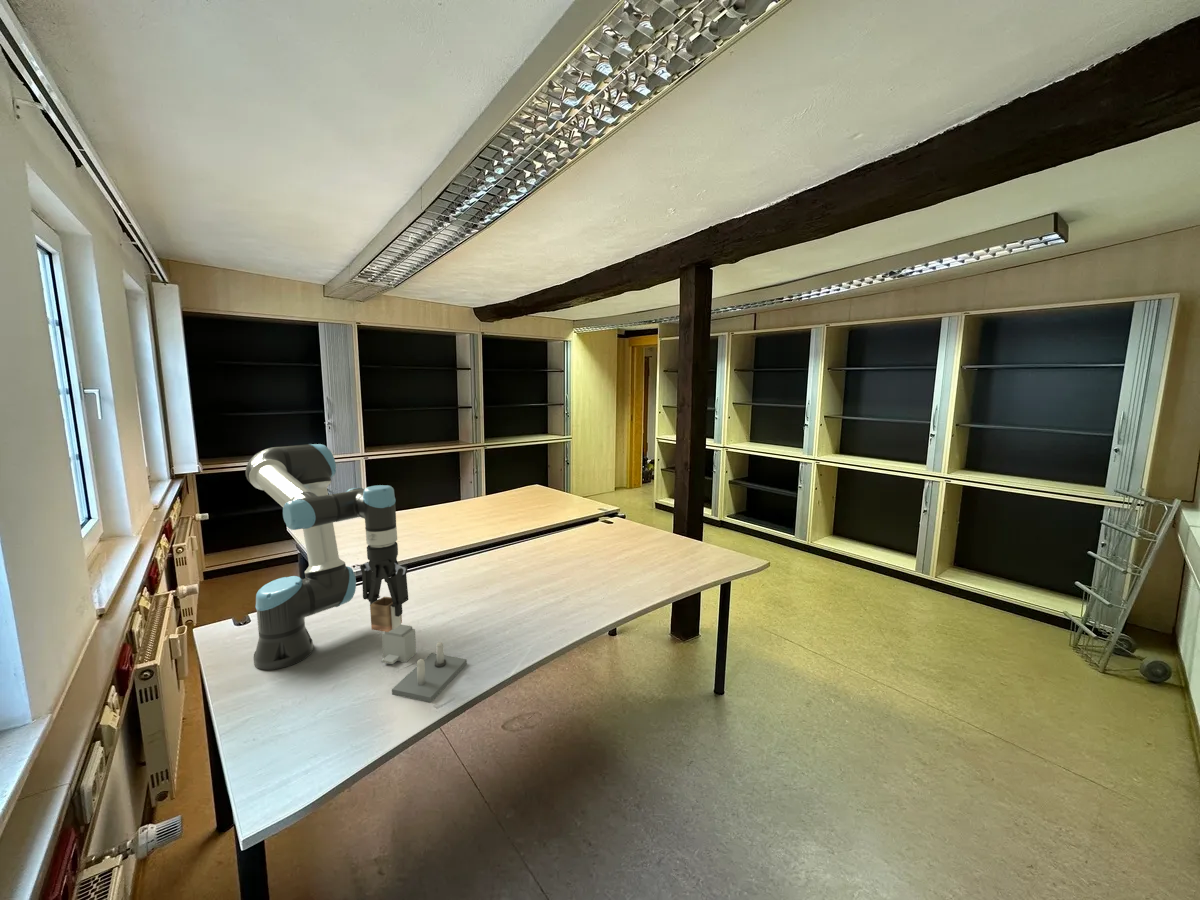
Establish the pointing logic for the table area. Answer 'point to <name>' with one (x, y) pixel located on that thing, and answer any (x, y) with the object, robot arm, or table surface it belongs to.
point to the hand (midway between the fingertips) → (387, 624)
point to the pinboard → (430, 676)
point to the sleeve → (381, 614)
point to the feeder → (398, 644)
